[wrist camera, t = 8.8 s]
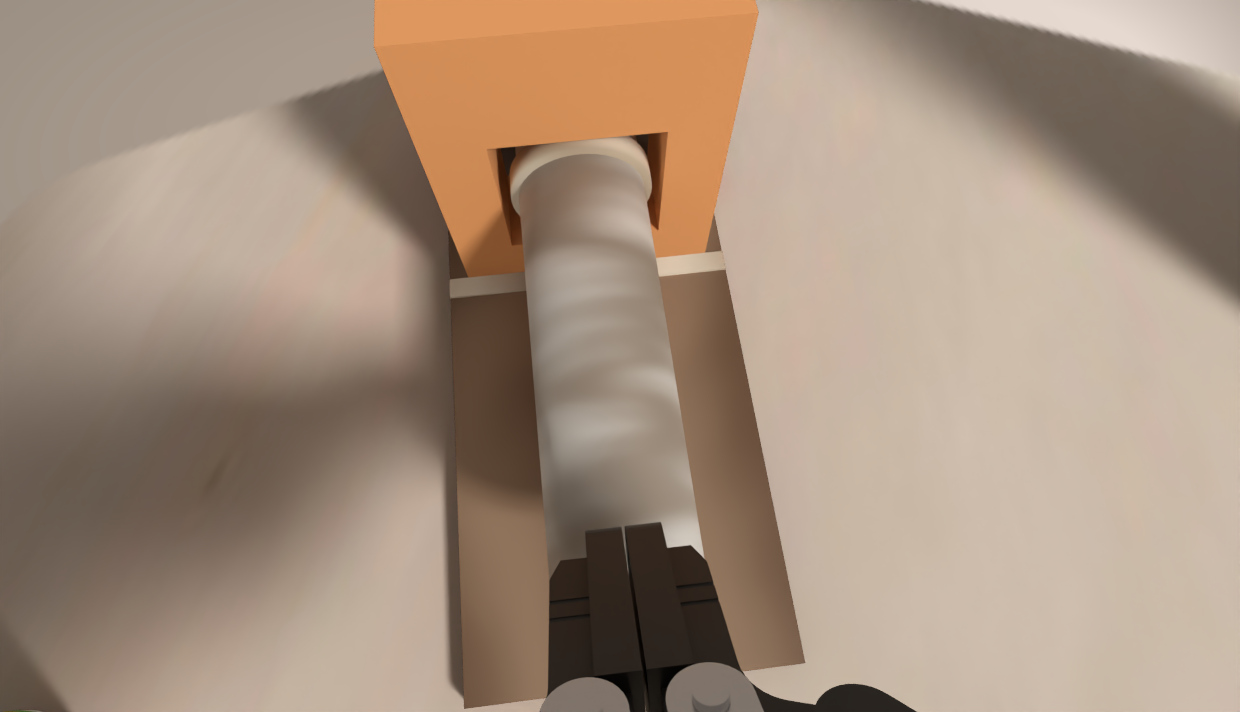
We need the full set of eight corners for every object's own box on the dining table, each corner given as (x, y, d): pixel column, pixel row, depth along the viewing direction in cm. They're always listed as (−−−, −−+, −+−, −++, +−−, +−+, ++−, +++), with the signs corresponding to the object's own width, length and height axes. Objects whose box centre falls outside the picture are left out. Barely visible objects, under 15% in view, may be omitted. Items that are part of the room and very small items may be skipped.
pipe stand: (686, 104, 33) (711, -88, 24) (797, 662, 24) (900, 673, 15) (449, 126, 32) (387, -62, 24) (470, 705, 23) (383, 743, 15)
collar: (692, 187, 28) (735, -75, 18) (705, 252, 27) (758, 12, 17) (465, 210, 27) (374, -46, 17) (468, 277, 26) (373, 47, 16)
